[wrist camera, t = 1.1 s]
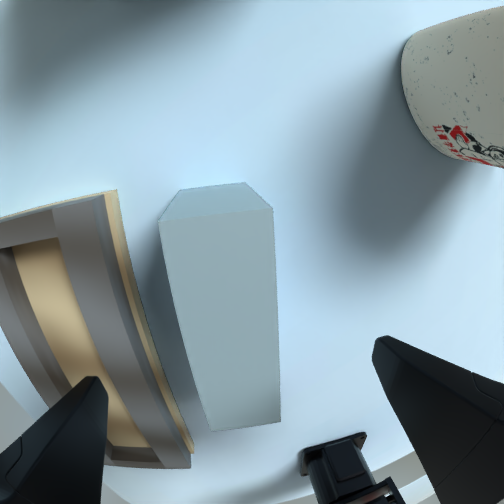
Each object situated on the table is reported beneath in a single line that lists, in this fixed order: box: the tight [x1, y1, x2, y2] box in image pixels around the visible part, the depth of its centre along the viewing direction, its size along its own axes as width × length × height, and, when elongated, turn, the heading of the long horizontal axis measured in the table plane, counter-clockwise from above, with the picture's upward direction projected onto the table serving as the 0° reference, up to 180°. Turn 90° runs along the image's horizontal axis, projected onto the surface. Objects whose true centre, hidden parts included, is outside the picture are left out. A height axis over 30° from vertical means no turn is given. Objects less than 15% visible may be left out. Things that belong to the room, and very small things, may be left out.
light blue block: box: [158, 182, 281, 431], centre depth 12 cm, size 9×3×6 cm, turn 4°
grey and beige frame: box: [0, 189, 194, 469], centre depth 14 cm, size 20×9×2 cm, turn 4°
